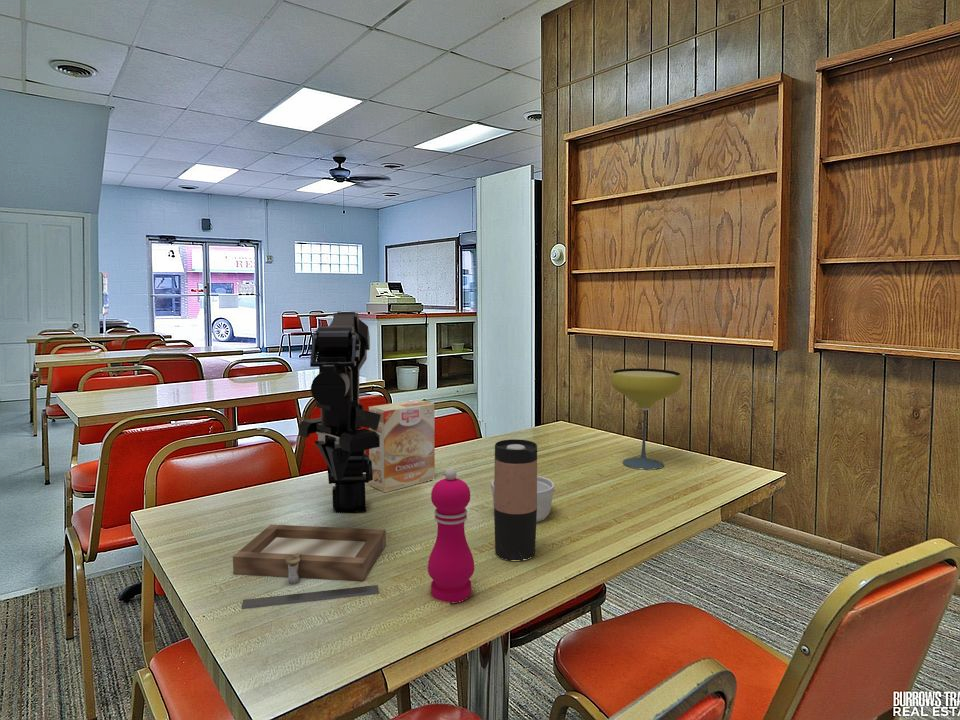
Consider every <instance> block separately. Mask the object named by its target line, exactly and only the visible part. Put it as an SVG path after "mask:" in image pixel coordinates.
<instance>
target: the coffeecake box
mask: <svg viewBox="0 0 960 720" xmlns="http://www.w3.org/2000/svg"><path fill="white" fill-rule="evenodd" d="M368 411H369V412H373V413H377V414H381V418H380V421H379V425H378V429H377V431H376V430H373V429H372V428H368V430H372V431H375V432H376V433H377V434H378V435H380V446H379V447H377V448H372V449H368V450H369V451H368V453H369V454H368V455H369V458H370V460H371V461H372V469H373V480H371V481H369V486H370V487H373V488H375V489H377V490H378V491H380V492H383V493H387V492H392V491H395V490H399V489H403V488H408V487H411V486H415V484H416V485H419V483H420V484H424V483H427V482H426V481H428V482H430V480H432V481H434V480H433V479H435V478H436V476H435V475H436V474H435V469H436V468H435V464H436V461H435V459H436V458H435V457H436V454H435V448H436V447H435V444H436V443H435V440H436V439H435V429H436V428H435V403H434V402H431V401H426V400H422V399H415V400H408V401H400V402H393V403H385V404H379V405H371V406H368ZM423 482H424V483H423Z"/></svg>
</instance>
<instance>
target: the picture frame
mask: <svg viewBox="0 0 960 720" xmlns="http://www.w3.org/2000/svg"><path fill="white" fill-rule="evenodd" d="M386 535H387V532H386V529H379V528H378V529H377V528H376V529H375V528H357V527H334V526H333V527H332V526H331V527H330V526H312V525H290V524H288V525H287V524H273V523H272V524H271V523H270V524H269V525H268V526H267V527H266V528H265V529H264V530H262V531H261V532H260V533H258V535H256V536H255V537H254V538H252V540H250V542H248V543H247V544H246V545H244V547H242V548H241V549H240V550H239V551H237V552H236V553H235V554H233V556H232V570H233V571H232V572H233V575H243V576H244V575H245V576H264V577H265V576H266V577H282V578H288V564H289V565H293V564H297V563H298V567H299V579H301V578H302V579H317V580H319V579H320V580H335V581H336V580H339V581H354V582H356V581H357V582H364V580H365V579H366V578H367V576H368V575H369V573H370V572H371V570H372V568H373V567H374V565H375V564H376V562H377V560H378V559H379V557H380V555H381V554H382V552H383V551H384V549H385V548H386V546H387V537H386Z"/></svg>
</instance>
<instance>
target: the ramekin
mask: <svg viewBox="0 0 960 720" xmlns="http://www.w3.org/2000/svg"><path fill="white" fill-rule="evenodd" d="M490 490H491V492H492V502H493V503H492V504H493V505H494V478H493V479H492V480H491V483H490ZM554 492H555V483H554V482H553V481H552V480H551V479H549V478H547V477H544V476H540V475H537V519H536V523H539V522H538V521H540V522H542V521H544V520H545V519H546V518H547V517H548V516H549V515H550V512H551V509H552V501H553V495H554ZM543 519H544V520H543ZM541 520H542V521H541Z"/></svg>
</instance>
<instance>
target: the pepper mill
mask: <svg viewBox="0 0 960 720" xmlns="http://www.w3.org/2000/svg"><path fill="white" fill-rule="evenodd" d="M444 476H445V478H442V479H440V480H438V481H437V482H436V483H435V484H434V485H433V487H432V489H431V493H430V499H431V502H432V506H434V507H435V510H434V520H435V521H436V523H437V534H436V539H435V542H434V545H433V547H432V550H431V551H430V554H429V559H428V563H427V573H428V575H429V577H430V578H431V580H432V581H431V584H430V594H431V596H432V597H433V598H434V599H436V600H437V601H441V602H447V603H450V602H459V601H462V600H465V599H466V598H468V597H469V596H470V597H471V595H472V582H471V580H470V579H471V578H472V576H473V575H474V572H475V560H474V556H473V553H472V551H471V548H470V547H469V543H468V541H467V538H466V532H465V531H466V530H465V522H466V521H467V519H468V515H467V513H468V509H467V508H466V507H467V506H468V505H469V503H470V501H471V490H470V487H469V485H468V484H467V483H466V482H465V481H464V480H462V479H460V478H457V471H456V470H455V469H453V468H448V469H447V470H446V471H445V473H444ZM470 594H471V595H470ZM470 597H469V598H470ZM469 598H468V599H469ZM465 601H466V600H465ZM459 603H460V602H459Z"/></svg>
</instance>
